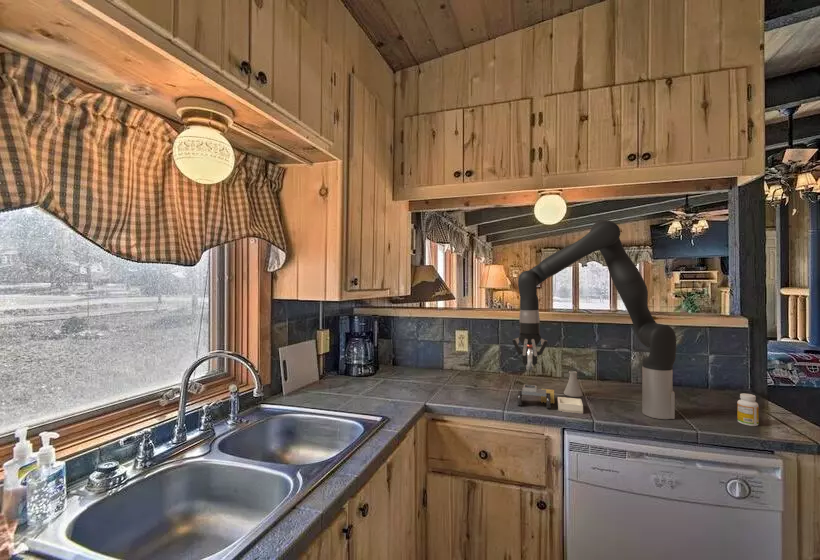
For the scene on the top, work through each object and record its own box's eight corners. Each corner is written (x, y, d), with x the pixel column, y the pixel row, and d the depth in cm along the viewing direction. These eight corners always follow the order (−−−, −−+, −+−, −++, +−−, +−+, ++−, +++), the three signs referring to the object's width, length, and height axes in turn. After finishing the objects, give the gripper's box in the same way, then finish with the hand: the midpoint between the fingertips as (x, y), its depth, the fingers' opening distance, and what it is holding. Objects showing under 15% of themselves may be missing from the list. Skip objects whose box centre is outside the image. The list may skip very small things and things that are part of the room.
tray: (580, 406, 147) (580, 398, 147) (583, 413, 139) (583, 405, 139) (557, 404, 150) (557, 396, 150) (558, 411, 142) (558, 403, 142)
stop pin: (535, 368, 150) (534, 343, 150) (534, 370, 147) (534, 345, 147) (525, 368, 152) (525, 343, 152) (525, 370, 148) (524, 344, 148)
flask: (571, 398, 157) (571, 374, 157) (560, 393, 164) (560, 370, 164) (586, 396, 159) (586, 373, 159) (574, 392, 166) (574, 369, 166)
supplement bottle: (748, 420, 132) (748, 392, 132) (763, 426, 127) (763, 397, 127) (733, 420, 132) (733, 392, 132) (747, 426, 127) (747, 397, 127)
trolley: (550, 403, 150) (550, 385, 150) (550, 410, 143) (550, 391, 143) (518, 400, 154) (518, 382, 154) (517, 407, 147) (517, 388, 147)
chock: (554, 400, 155) (554, 389, 155) (554, 403, 151) (554, 392, 151) (541, 399, 156) (541, 388, 156) (540, 402, 152) (540, 391, 152)
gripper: (510, 321, 148) (511, 366, 148) (548, 322, 143) (549, 368, 143) (511, 319, 155) (512, 362, 155) (548, 320, 150) (548, 364, 150)
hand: (530, 364), depth 149 cm, fingers closed on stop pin, 2 cm apart
